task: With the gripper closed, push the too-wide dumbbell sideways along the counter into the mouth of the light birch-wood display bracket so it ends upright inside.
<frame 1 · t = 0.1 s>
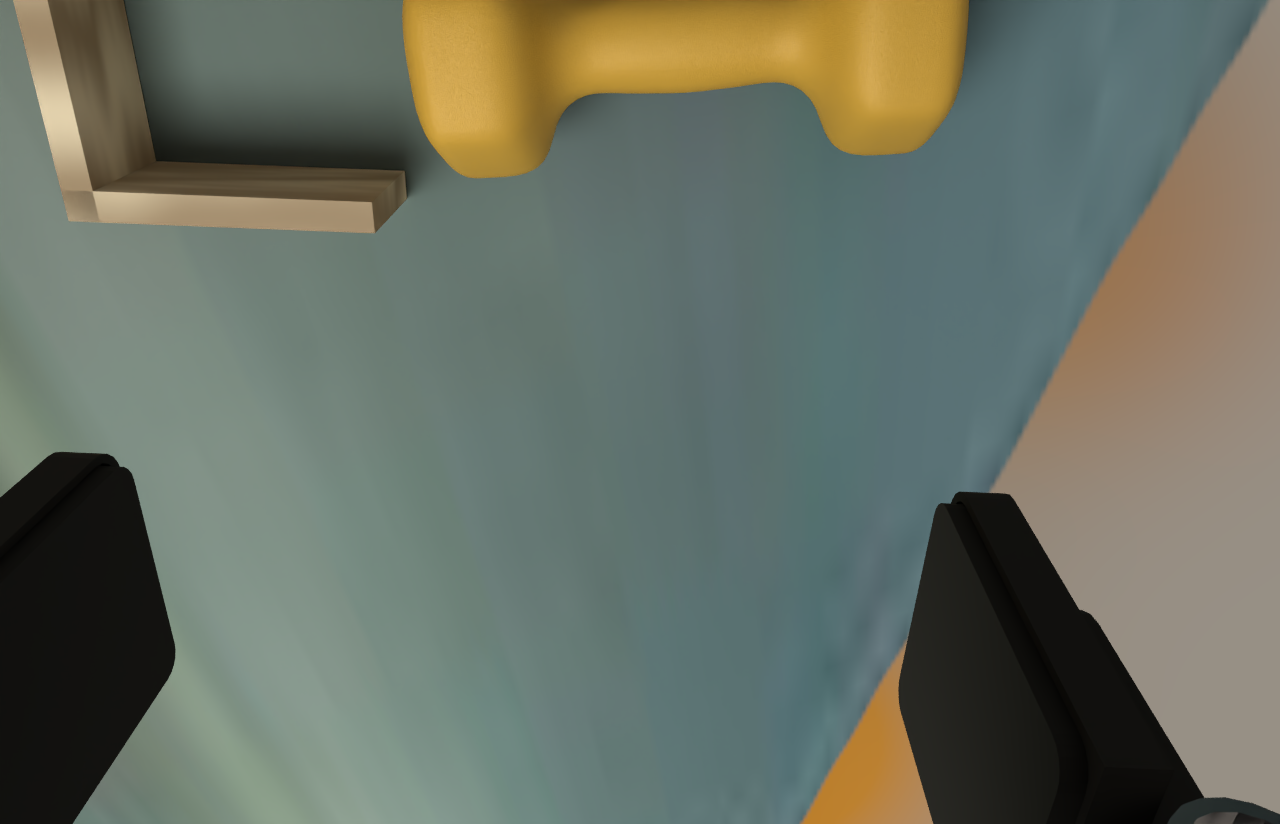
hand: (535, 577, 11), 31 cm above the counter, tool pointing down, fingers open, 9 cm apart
dumbbell: (680, 27, 38), on the counter
display bracket: (326, 15, 37), on the counter
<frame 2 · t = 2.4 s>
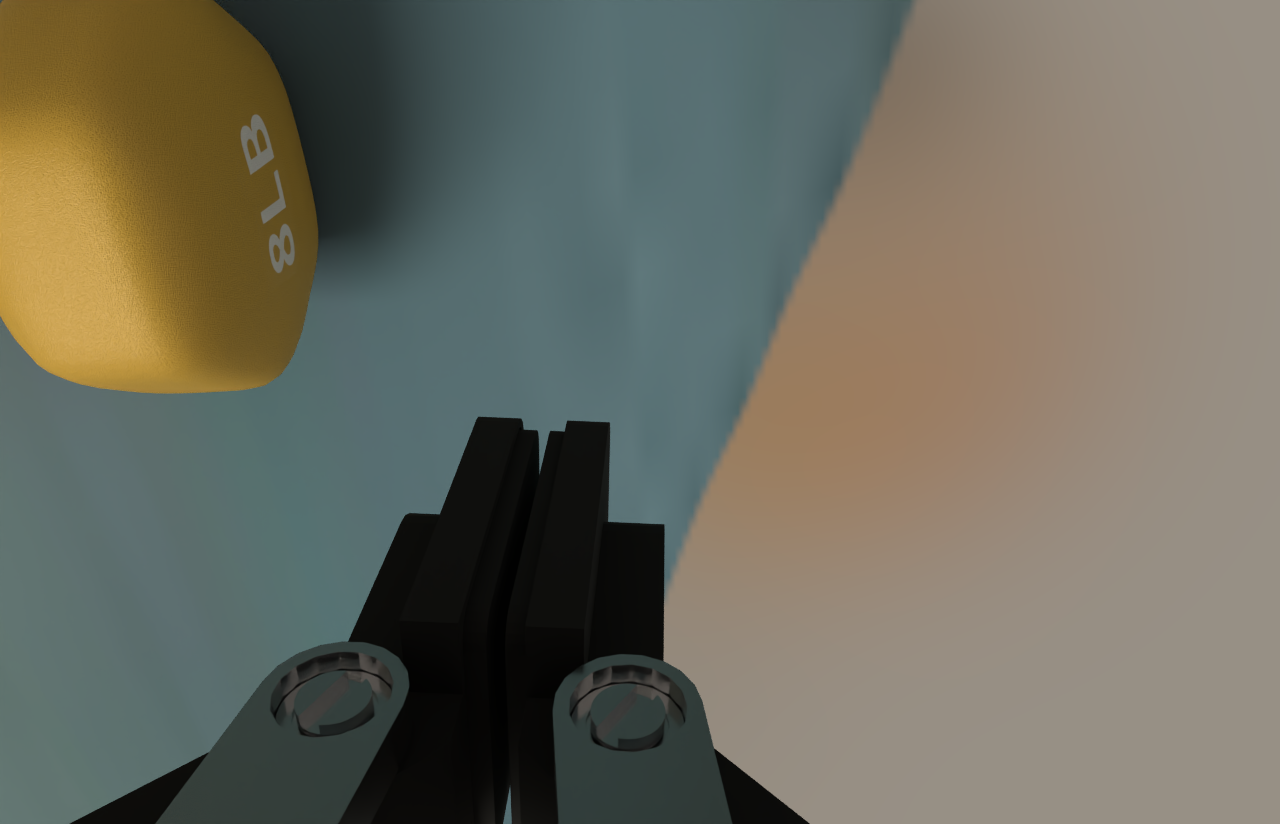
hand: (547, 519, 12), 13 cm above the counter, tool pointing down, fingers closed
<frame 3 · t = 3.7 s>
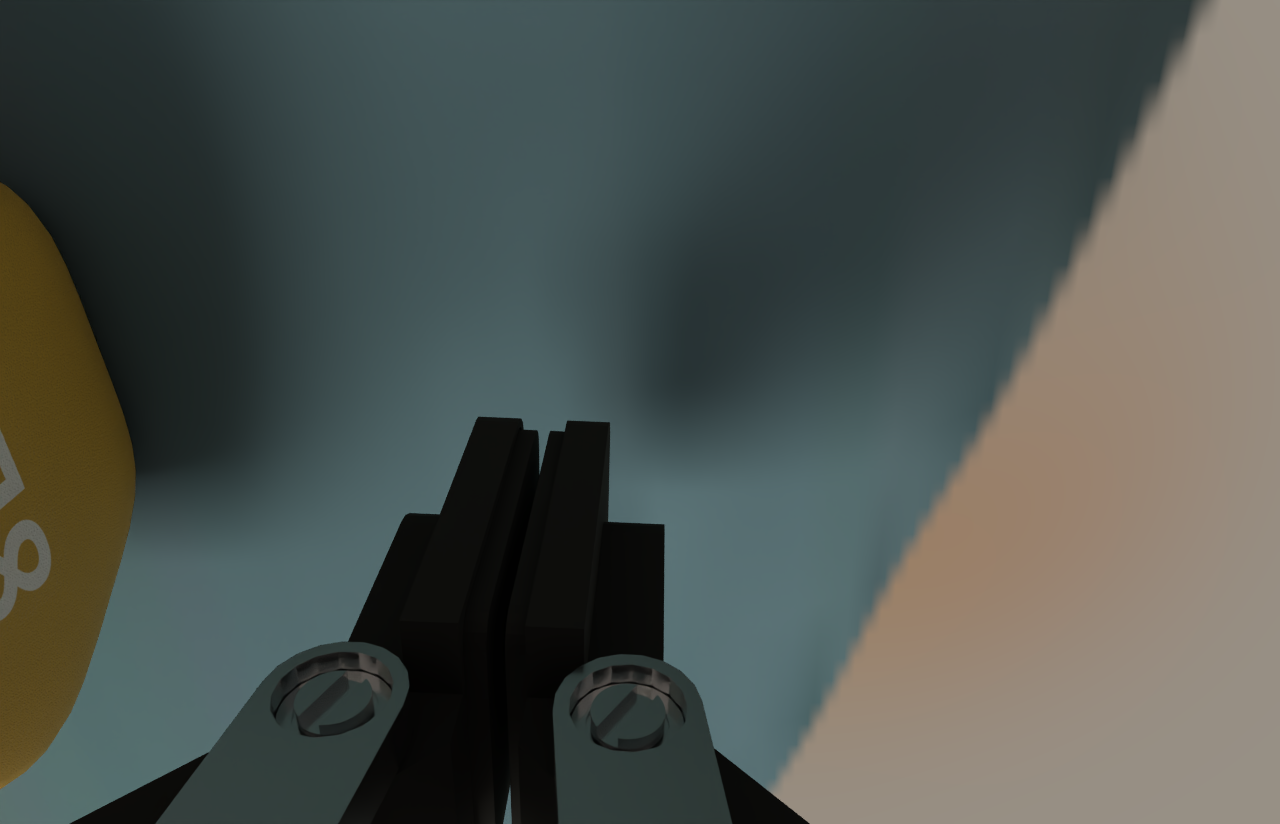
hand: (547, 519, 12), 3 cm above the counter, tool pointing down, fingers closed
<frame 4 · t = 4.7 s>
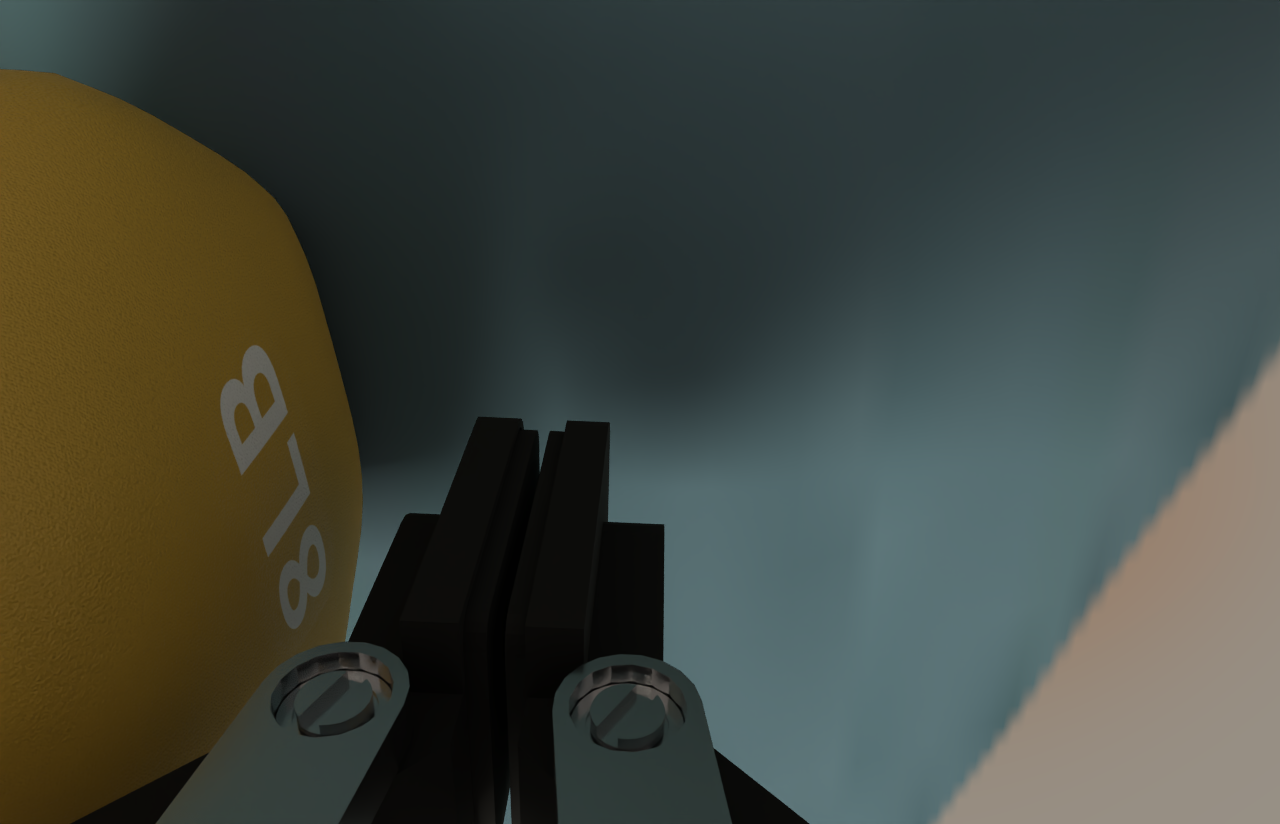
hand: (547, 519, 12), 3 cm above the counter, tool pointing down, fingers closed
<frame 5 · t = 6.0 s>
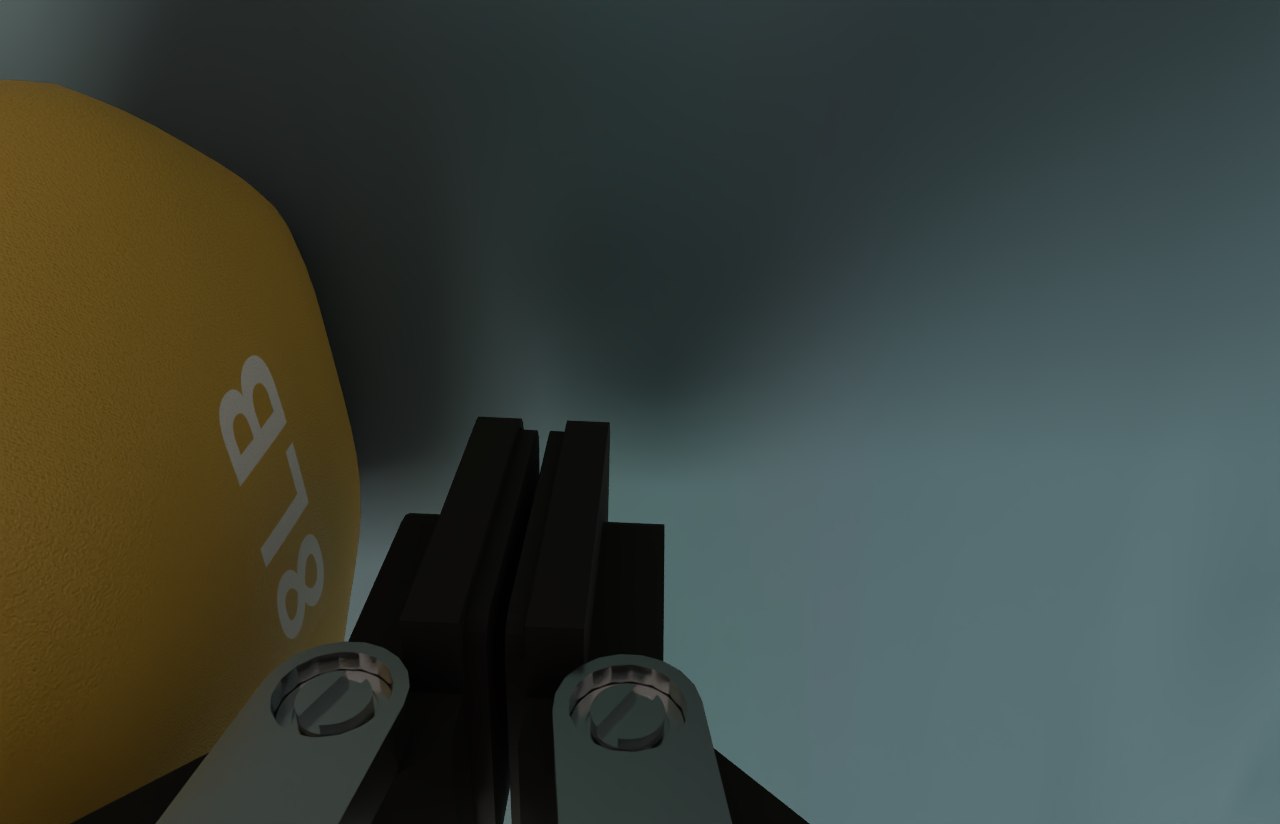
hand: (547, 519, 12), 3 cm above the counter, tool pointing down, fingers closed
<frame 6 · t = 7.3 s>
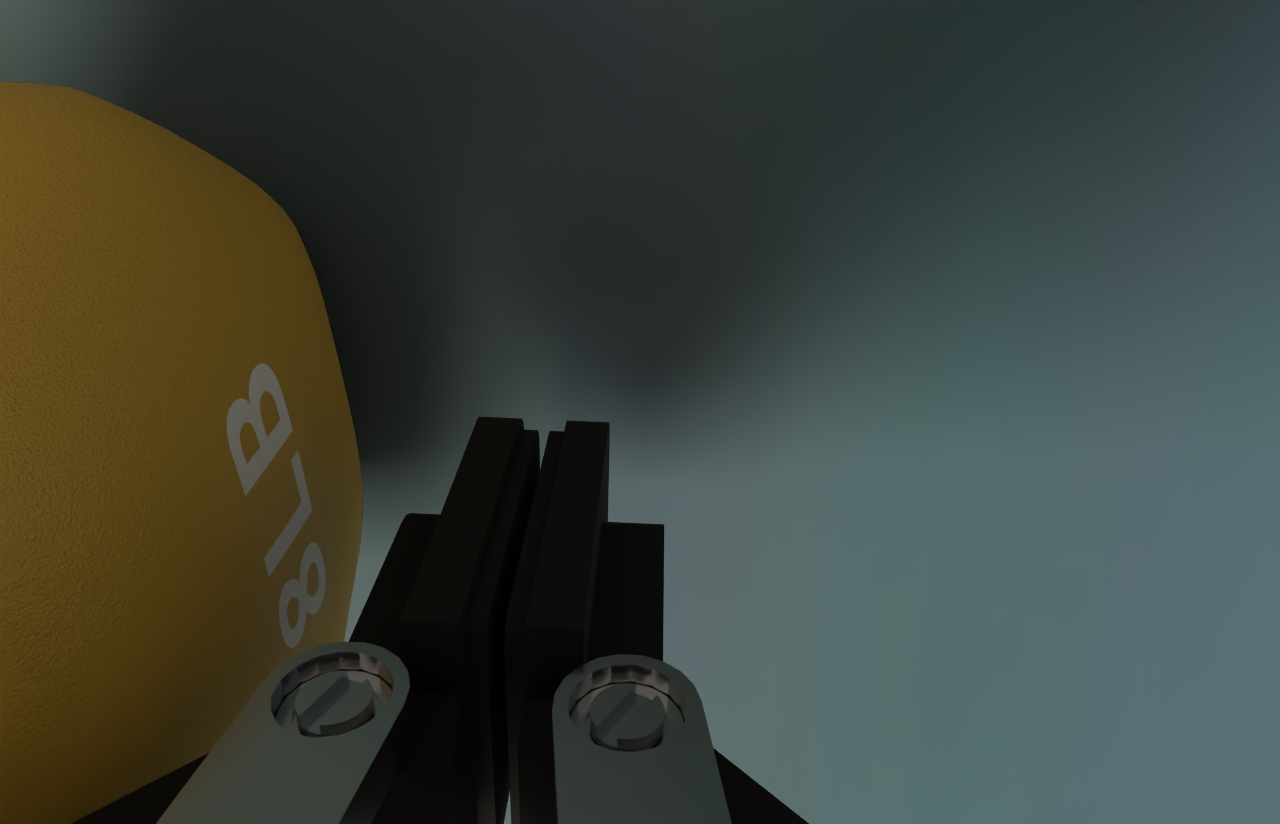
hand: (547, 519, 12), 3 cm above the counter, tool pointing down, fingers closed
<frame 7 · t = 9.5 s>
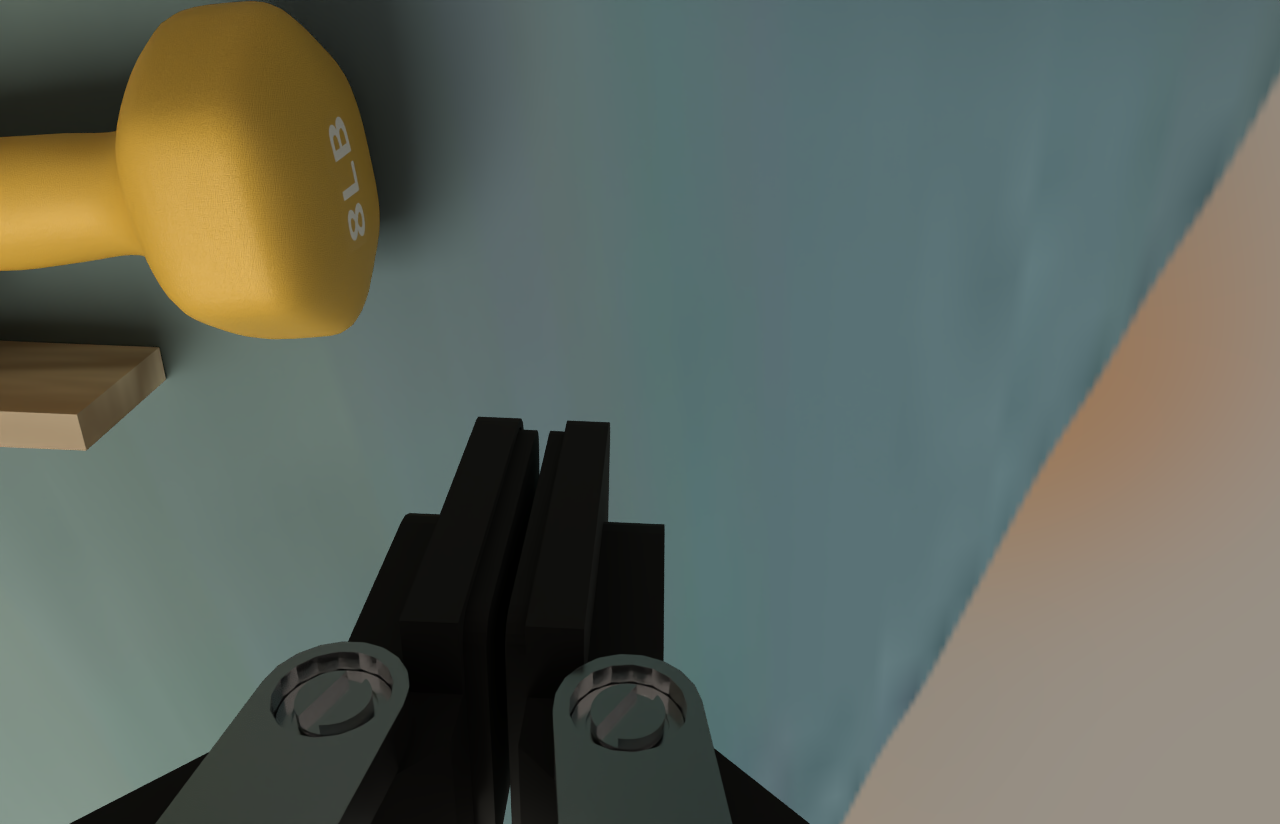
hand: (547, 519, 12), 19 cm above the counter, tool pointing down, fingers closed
dumbbell: (96, 169, 30), on the counter
display bracket: (37, 165, 29), on the counter
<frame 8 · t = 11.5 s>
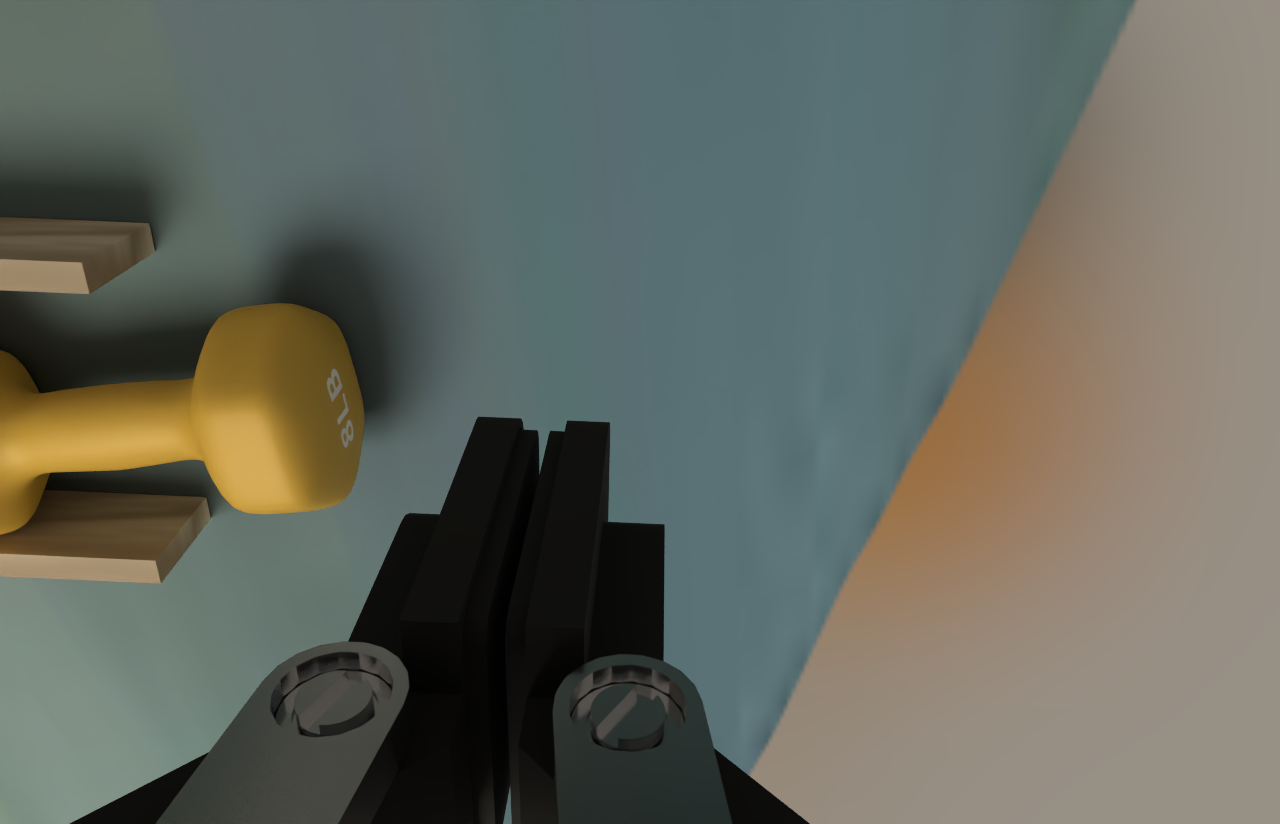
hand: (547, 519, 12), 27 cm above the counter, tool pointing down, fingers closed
dumbbell: (165, 380, 42), on the counter
display bracket: (123, 379, 42), on the counter
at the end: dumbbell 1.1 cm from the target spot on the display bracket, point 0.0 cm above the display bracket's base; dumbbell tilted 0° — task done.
